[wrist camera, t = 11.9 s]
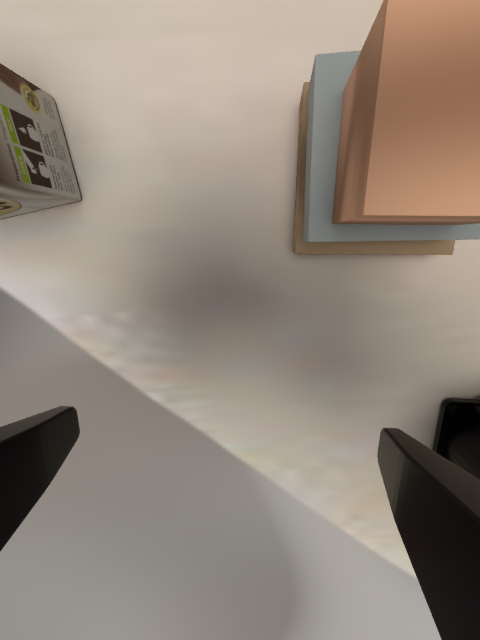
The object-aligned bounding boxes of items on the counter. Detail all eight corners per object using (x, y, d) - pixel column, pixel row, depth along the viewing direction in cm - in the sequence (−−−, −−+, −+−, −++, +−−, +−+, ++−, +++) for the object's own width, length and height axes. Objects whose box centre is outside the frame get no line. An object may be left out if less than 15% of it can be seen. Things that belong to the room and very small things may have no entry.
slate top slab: (441, 239, 15) (479, 239, 13) (302, 241, 16) (308, 241, 13) (464, 80, 14) (515, 37, 11) (308, 91, 15) (315, 54, 12)
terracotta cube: (454, 225, 13) (564, 216, 8) (331, 224, 13) (363, 215, 8) (481, 84, 11) (633, -30, 6) (343, 90, 12) (389, -13, 7)
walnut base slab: (424, 252, 18) (452, 254, 16) (292, 251, 19) (295, 253, 16) (448, 101, 16) (485, 72, 14) (299, 108, 17) (303, 82, 14)
